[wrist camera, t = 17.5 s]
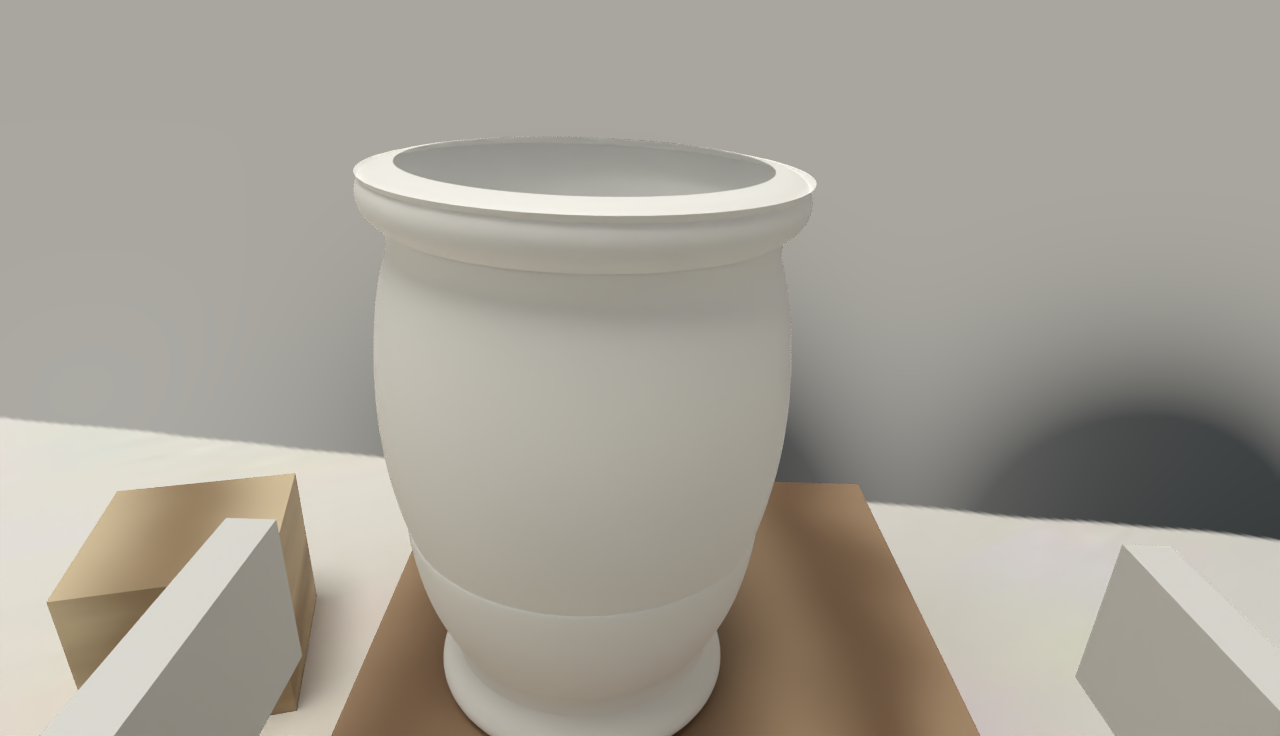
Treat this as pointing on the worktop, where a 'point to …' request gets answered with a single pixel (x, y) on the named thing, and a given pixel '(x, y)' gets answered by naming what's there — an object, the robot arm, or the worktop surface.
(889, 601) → the walnut slab
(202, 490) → the oak cube
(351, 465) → the worktop surface
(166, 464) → the worktop surface
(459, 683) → the jar
